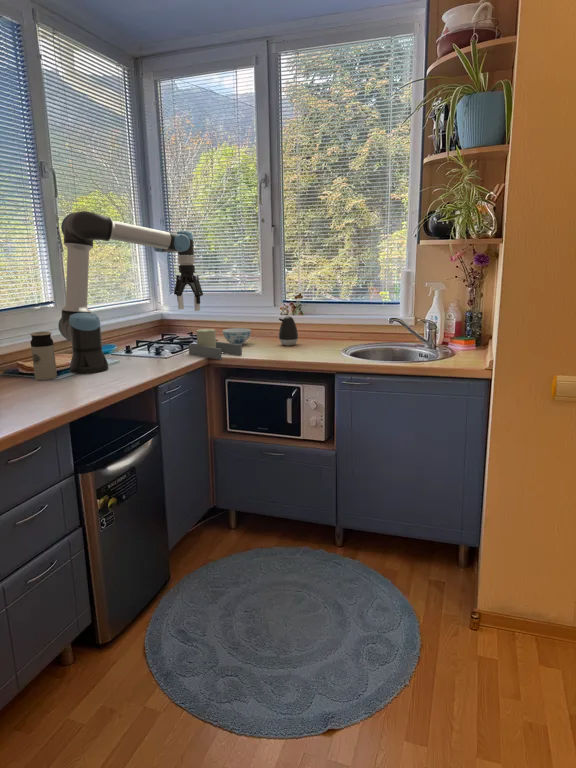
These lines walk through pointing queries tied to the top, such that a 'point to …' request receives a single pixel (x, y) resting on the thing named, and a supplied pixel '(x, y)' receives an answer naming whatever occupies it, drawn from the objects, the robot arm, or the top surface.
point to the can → (206, 337)
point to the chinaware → (237, 335)
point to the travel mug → (43, 356)
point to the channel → (215, 350)
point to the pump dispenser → (288, 331)
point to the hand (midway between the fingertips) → (189, 309)
